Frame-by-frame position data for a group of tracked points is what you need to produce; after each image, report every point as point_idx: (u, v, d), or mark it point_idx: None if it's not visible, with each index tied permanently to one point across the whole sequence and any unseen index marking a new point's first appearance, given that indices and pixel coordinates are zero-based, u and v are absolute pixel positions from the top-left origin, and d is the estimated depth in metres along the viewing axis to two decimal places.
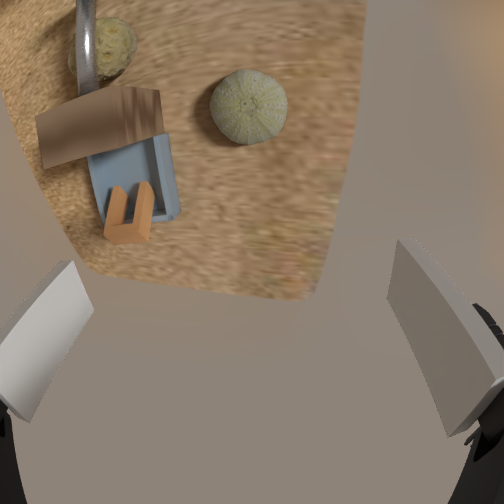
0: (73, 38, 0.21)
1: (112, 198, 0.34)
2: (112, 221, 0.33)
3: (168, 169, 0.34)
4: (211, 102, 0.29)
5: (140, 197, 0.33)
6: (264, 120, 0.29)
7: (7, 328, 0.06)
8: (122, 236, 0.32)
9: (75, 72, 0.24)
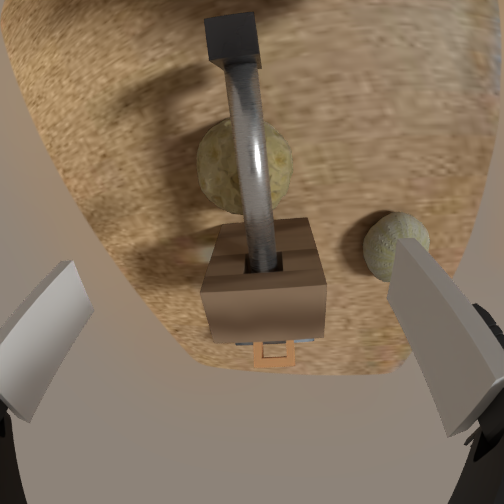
0: (210, 150, 0.23)
1: None
2: (261, 353, 0.35)
3: None
4: (371, 249, 0.31)
5: None
6: None
7: (7, 328, 0.06)
8: (274, 366, 0.35)
9: (217, 201, 0.26)
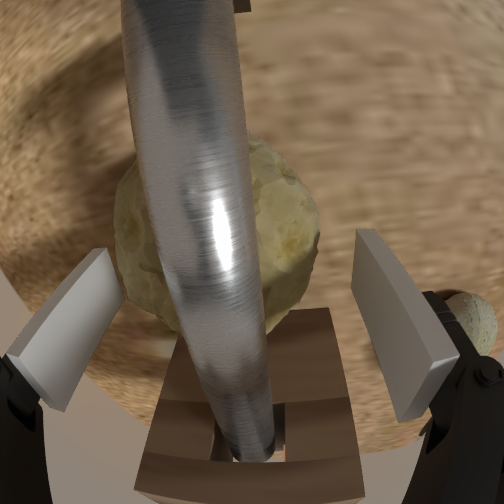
0: (124, 217, 0.10)
1: None
2: None
3: None
4: None
5: None
6: None
7: (43, 313, 0.07)
8: None
9: None
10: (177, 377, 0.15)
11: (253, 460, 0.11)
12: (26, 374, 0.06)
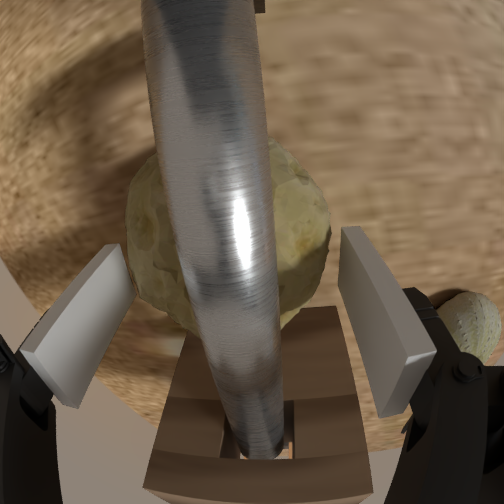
0: (138, 215, 0.10)
1: None
2: None
3: None
4: None
5: None
6: None
7: (58, 308, 0.07)
8: None
9: (168, 313, 0.12)
10: (186, 375, 0.15)
11: (262, 457, 0.11)
12: (40, 370, 0.06)
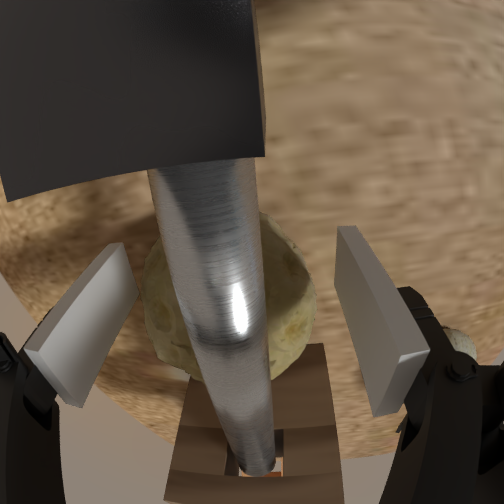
0: (155, 301, 0.12)
1: None
2: (251, 476, 0.23)
3: None
4: None
5: None
6: None
7: (62, 307, 0.07)
8: None
9: None
10: (193, 406, 0.17)
11: (258, 474, 0.13)
12: (44, 369, 0.06)
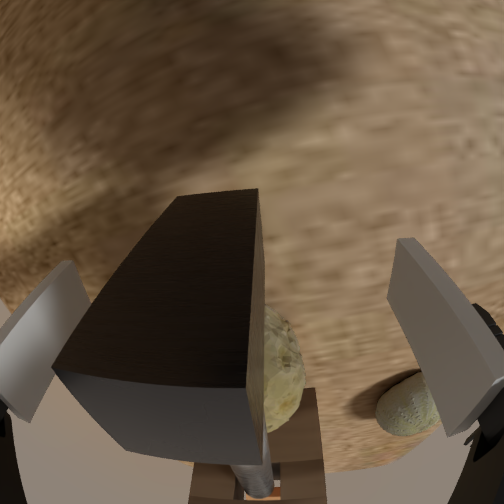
0: None
1: None
2: None
3: None
4: (386, 418, 0.22)
5: None
6: (429, 427, 0.21)
7: (7, 328, 0.06)
8: None
9: None
10: None
11: (260, 497, 0.15)
12: None
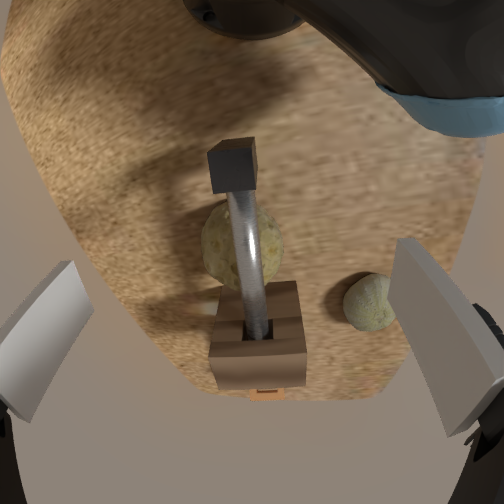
0: (213, 241, 0.29)
1: None
2: (256, 389, 0.40)
3: None
4: (349, 306, 0.36)
5: None
6: (387, 323, 0.36)
7: (7, 328, 0.06)
8: (267, 399, 0.40)
9: (219, 279, 0.32)
10: (222, 312, 0.34)
11: None
12: None
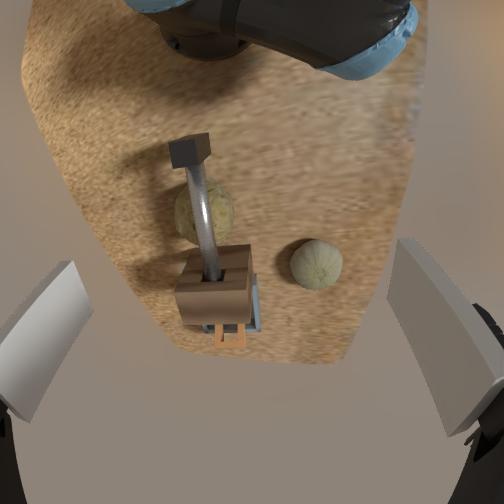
0: (180, 207, 0.39)
1: None
2: (220, 338, 0.51)
3: (258, 301, 0.52)
4: (293, 265, 0.47)
5: None
6: (328, 282, 0.47)
7: (7, 328, 0.06)
8: None
9: (186, 237, 0.42)
10: (190, 264, 0.44)
11: None
12: None
